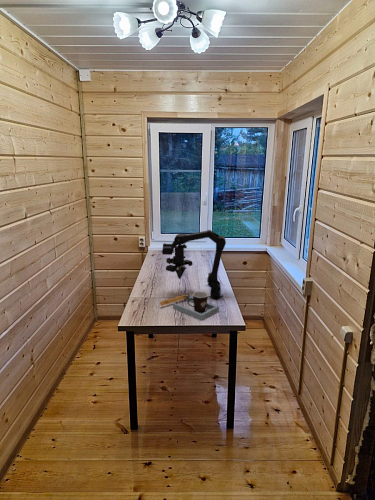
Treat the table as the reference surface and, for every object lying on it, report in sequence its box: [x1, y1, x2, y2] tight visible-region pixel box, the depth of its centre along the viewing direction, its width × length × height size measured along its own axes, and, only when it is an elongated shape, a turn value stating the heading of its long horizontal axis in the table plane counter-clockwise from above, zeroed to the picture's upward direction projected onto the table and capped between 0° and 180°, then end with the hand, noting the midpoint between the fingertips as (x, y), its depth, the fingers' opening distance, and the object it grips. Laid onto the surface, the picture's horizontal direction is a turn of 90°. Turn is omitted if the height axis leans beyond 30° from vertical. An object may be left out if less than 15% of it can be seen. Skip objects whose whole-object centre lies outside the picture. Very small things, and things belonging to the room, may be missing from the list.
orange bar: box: [159, 293, 190, 307], centre depth 193 cm, size 20×3×2 cm, turn 125°
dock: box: [172, 295, 220, 321], centre depth 186 cm, size 16×26×3 cm, turn 47°
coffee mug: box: [187, 291, 209, 314], centre depth 183 cm, size 12×9×10 cm
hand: (179, 278), depth 201 cm, fingers closed
